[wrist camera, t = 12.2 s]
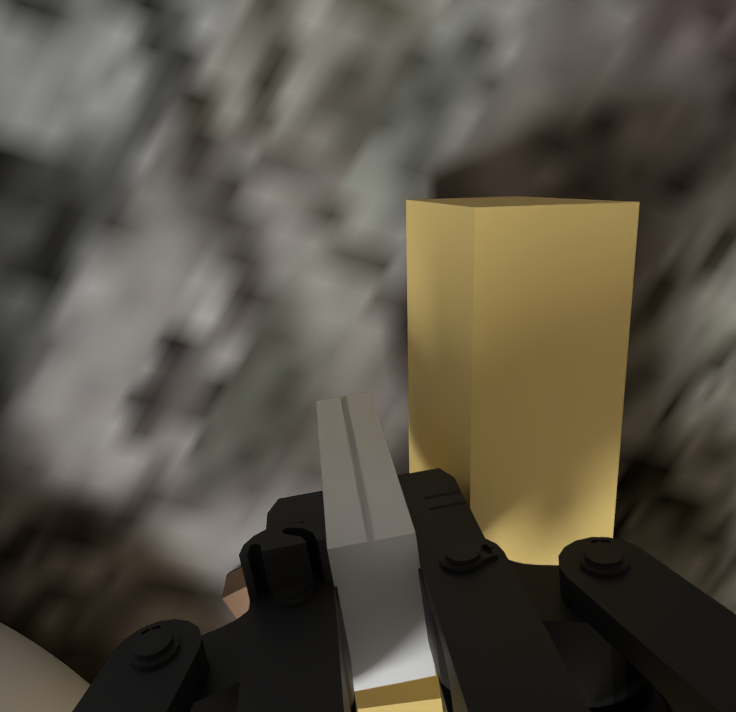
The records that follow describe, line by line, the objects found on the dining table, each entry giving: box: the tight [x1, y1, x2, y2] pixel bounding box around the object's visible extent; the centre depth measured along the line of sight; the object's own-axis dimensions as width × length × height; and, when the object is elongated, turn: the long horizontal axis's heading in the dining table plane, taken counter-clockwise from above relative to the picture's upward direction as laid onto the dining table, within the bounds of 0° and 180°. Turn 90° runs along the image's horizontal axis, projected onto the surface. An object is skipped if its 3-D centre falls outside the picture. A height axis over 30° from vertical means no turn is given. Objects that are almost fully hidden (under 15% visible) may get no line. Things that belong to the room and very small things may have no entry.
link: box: [354, 196, 640, 712], centre depth 17 cm, size 19×9×6 cm, turn 1°
